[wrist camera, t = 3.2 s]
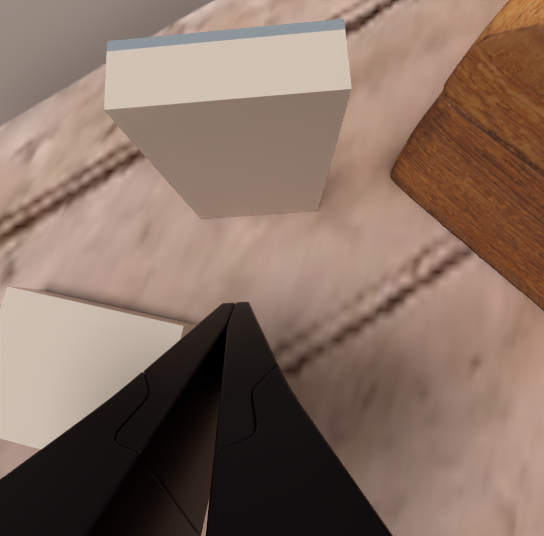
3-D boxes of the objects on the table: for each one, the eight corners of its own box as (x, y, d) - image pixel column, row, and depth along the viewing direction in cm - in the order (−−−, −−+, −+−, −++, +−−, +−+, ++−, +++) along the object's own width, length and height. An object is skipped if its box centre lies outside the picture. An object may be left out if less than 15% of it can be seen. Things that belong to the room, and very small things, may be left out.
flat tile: (197, 324, 19) (183, 325, 17) (165, 455, 18) (145, 478, 16) (43, 290, 20) (7, 286, 18) (2, 412, 19) (-41, 427, 17)
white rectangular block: (317, 211, 20) (351, 88, 9) (201, 218, 21) (104, 109, 10) (314, 175, 21) (344, 18, 10) (200, 183, 21) (107, 41, 10)
